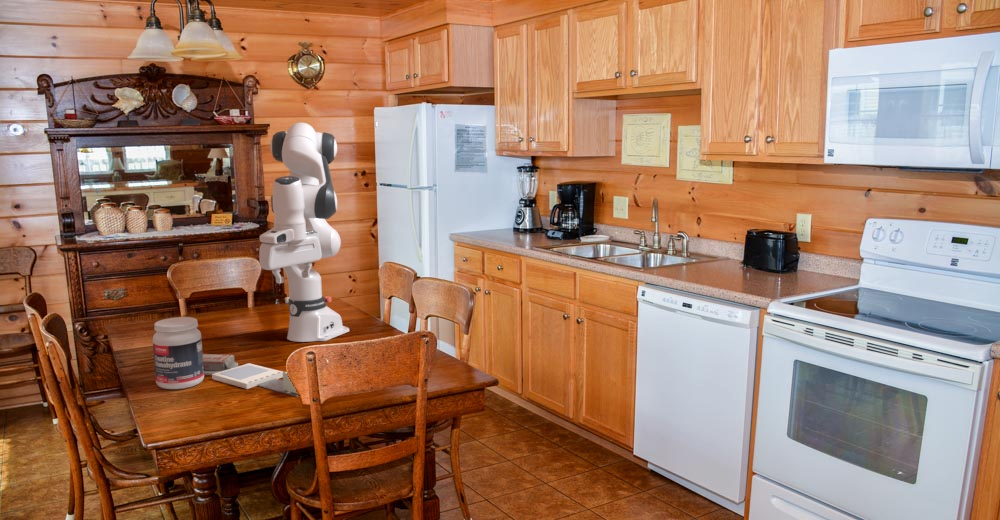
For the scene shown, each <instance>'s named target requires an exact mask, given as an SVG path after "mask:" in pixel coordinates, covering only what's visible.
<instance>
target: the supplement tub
mask: <svg viewBox="0 0 1000 520" xmlns="http://www.w3.org/2000/svg"><path fill="white" fill-rule="evenodd" d="M198 326H199V323H198V319H197V318H195V317H191V316H178V317H176V316H175V317H170V318H164V319H161V320H158V321H156V322H155V323H154V331H156V332H155V333H154V334H153V336H152V347H153V348H152V349H153V360H154V372H155V384H156V385H157V386H158V387H159V388H161V389H165V390H184V389H187V388H188V389H189V388H192V387H194V386H197V385H199V384H200V383H202V382H203V380H204V378H205V375H204V368H203V354H204V353H203V342H202V341H203V340H202V339H203V338H202V333H201V331H200V330H199V329H198Z"/></svg>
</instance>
